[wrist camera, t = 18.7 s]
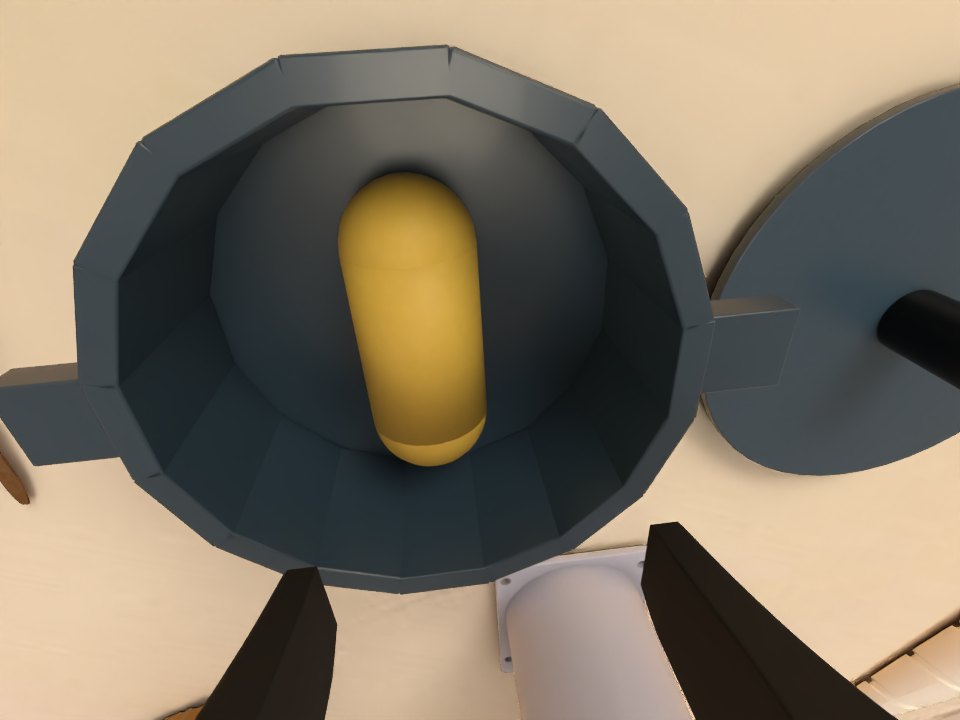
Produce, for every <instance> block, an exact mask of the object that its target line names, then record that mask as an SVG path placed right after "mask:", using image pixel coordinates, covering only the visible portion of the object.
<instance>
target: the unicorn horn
mask: <svg viewBox="0 0 960 720" xmlns="http://www.w3.org/2000/svg"><path fill="white" fill-rule="evenodd" d="M959 624H960V620H959ZM912 651H913V653H914V655H912V656H911V657H910V656H908V655H907V654H905V655H903V656H902V657H900V658H899V659H897V660H896V661H894V662H892V663H891V664H889V665H888V666H886V667H885V668H883V669H882V670H880V671H879V672H877V673H876V674H874V675H873V676H871V681H872V682H871V683H867V682H866V681H864V682H862V683H861V684H859V685H858V686H856V687H857V688H858V689H859V690H861V691H862V692H863V693H864V694H866V695H867V696H868V697H869V698H871V699H872V700H873V701H874V702H876V703H877V704H878V705H880V706H881V707H882V708H883V709H885V710H886V711H887V712H889V713H890V714H891V715H893V716H896V715H899V714H903V713H907V712H910V711H914V710H916V709H918V708H920V707H923V708H924V707H928V706H931V705H935V704H938V703H942V702H945V701H949V700H952V699H955V698H959V697H960V626H959V627H957V628H956V627H954V626H952V625H951V626H949V627H948V628H946V629H944V630H943V631H941V632H940V633H938V634H936V635H935V636H933V637H932V638H930V639H928V640H927V641H925V642H924V643H922V644H921V645H919V646H917V647H916V648H914V649H913V650H912Z"/></svg>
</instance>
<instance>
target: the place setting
mask: <svg viewBox="0 0 960 720" xmlns="http://www.w3.org/2000/svg"><path fill="white" fill-rule="evenodd" d="M0 482H1V483H2V484H3V486H4V487H5V488H6V489H7V491H8V492H9V493H10V494H11V495H12V496H13V497H14V498H15V499H16V500H17V501H18V502H19V503H21V504H30V500H29V497H28V494H27V492H26V490H25V488H24V486H23V484H22V483H21V481H20V479H19V478H18V476H17V475H16V473H15V472H14V471H13V469H12V468H11V466H10V465H9V463H8V462H7V461H6V459H5V458H4V456H3V455H2V454H1V452H0Z"/></svg>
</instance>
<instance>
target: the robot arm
mask: <svg viewBox="0 0 960 720" xmlns="http://www.w3.org/2000/svg"><path fill="white" fill-rule="evenodd" d="M495 591H496V606H497V621H498V636H499V651H500V665H501V670H502V671H503V672H505V673H512V672H514V677H515V683H516V690H517V696H518V703H519V709H520V716H521V720H692V718H691V715H690V713H689V711H688V708H687V706H686V704H685V701H684V699H683V696H682V694H681V692H680V689H679V687H678V684H677V682H676V680H675V677H674V675H673V673H672V670H671V668H670V665H669V663H668V661H667V658H668V660H669V662H670V664H671V666H672V669H673V671H674V673H675V675H676V677H677V680H678V682H679V684H680V686H681V688H682V690H683V693H684V695H685V697H686V699H687V701H688V703H689V706H690V708H691V710H692V712H693V714H694V717H695V719H696V720H898V719H897V718H895V717H894V716H893V715H891V714H890V713H889V712H887V711H886V710H885V709H883V708H882V707H881V706H880V705H878V704H877V703H876V702H874V701H873V700H872V699H871V698H869V697H868V696H867V695H866V694H864V693H863V692H862V691H861V690H859V689H858V688H857V687H855V686H854V685H853V684H852V683H851V682H849V681H848V680H847V679H846V678H844V677H843V676H842V675H841V674H840V673H838V672H837V671H836V670H835V669H834V668H832V667H831V666H830V665H829V664H828V663H826V662H825V661H824V660H823V659H822V658H820V657H819V656H818V655H817V654H816V653H815V652H814V651H812V650H811V649H810V648H809V647H808V646H807V645H806V644H804V643H803V642H802V641H801V640H800V639H799V638H798V637H796V636H795V635H794V634H793V633H792V632H791V631H790V630H789V629H787V628H786V627H785V626H784V625H783V624H782V623H781V622H780V621H779V620H777V619H776V618H775V617H774V616H773V615H772V614H771V613H770V612H769V611H768V610H767V609H766V608H765V607H764V606H763V605H762V604H760V603H759V602H758V601H757V600H756V599H755V598H754V597H753V596H752V595H751V594H750V593H749V592H748V591H747V590H746V589H745V588H744V587H743V586H741V585H740V584H739V583H738V582H737V581H736V580H735V579H734V578H733V577H732V576H731V575H730V574H729V573H728V572H727V571H726V570H725V569H724V568H723V567H722V566H721V565H720V564H719V563H718V562H717V561H716V560H715V559H714V558H713V557H712V556H711V555H710V554H709V553H708V552H707V551H706V550H705V549H704V548H703V547H702V546H701V545H700V544H699V542H698V541H697V540H696V539H695V538H694V537H693V536H692V535H691V534H690V533H689V532H688V531H687V530H686V529H685V528H684V527H683V526H682V525H681V524H680V523H678V522H671V523H662V524H654V525H650V530H649V536H648V542H647V546H646V545H639V546H631V547H623V548H615V549H608V550H600V551H592V552H584V553H576V554H568V555H560V556H556V557H553V558H551V559H548V560H546V561H543V562H541V563H538V564H536V565H533V566H531V567H528V568H526V569H523V570H521V571H518V572H516V573H513V574H511V575H508V576H506V577H503V578H501V579H498V580H496V581H495ZM644 600H646V603H647V607H648V610H649V613H650V615H651V618H652V621H653V624H654V627H655V630H656V632H655V630H654V627H653V625H652V623H651V620H650V618H649V616H648V613H647V611H646V608H645V606H644ZM336 632H337V622H336V620H335V617H334V614H333V611H332V608H331V605H330V602H329V599H328V597H327V594H326V591H325V588H324V585H323V582H322V579H321V576H320V574H319V571H318V568H317V566H315V567H307V568H299V569H291V570H287V571H286V572H285V573H284V574H283V576H282V578H281V580H280V581H279V583H278V585H277V587H276V589H275V590H274V592H273V594H272V596H271V597H270V599H269V601H268V603H267V604H266V606H265V608H264V610H263V611H262V613H261V615H260V617H259V618H258V620H257V622H256V623H255V625H254V627H253V628H252V630H251V632H250V633H249V635H248V637H247V638H246V640H245V642H244V643H243V645H242V647H241V648H240V650H239V651H238V653H237V655H236V656H235V658H234V659H233V661H232V663H231V664H230V666H229V667H228V669H227V671H226V672H225V674H224V675H223V677H222V679H221V680H220V682H219V683H218V685H217V686H216V688H215V689H214V691H213V693H212V694H211V696H210V697H209V699H208V700H207V701H206V703H205V704H204V706H203V707H202V709H201V710H200V712H199V713H198V715H197V716H196V718H195V719H194V720H325V715H326V710H327V705H328V699H329V694H330V688H331V683H332V677H333V667H334V657H335V645H336ZM656 633H657V635H658V637H659V639H658V637H657V635H656ZM659 640H660V642H661V644H662V646H663V649H664V651H665V653H666V655H667V658H666V656H665V654H664V651H663V649H662V646H661V644H660V642H659Z"/></svg>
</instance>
